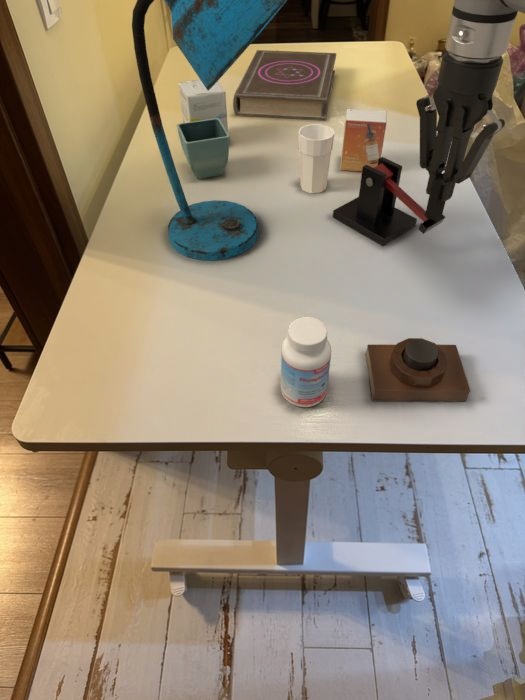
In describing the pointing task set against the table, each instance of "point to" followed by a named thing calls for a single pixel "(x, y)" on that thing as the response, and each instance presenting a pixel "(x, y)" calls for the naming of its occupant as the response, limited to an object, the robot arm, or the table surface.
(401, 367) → the block
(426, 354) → the bell button
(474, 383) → the table surface
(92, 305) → the table surface
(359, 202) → the black lever stand
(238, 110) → the book
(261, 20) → the desk lamp
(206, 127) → the flower pot
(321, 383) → the pill bottle
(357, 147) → the small box
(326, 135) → the cup
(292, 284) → the table surface
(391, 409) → the table surface
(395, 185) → the red lever
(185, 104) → the ink box
